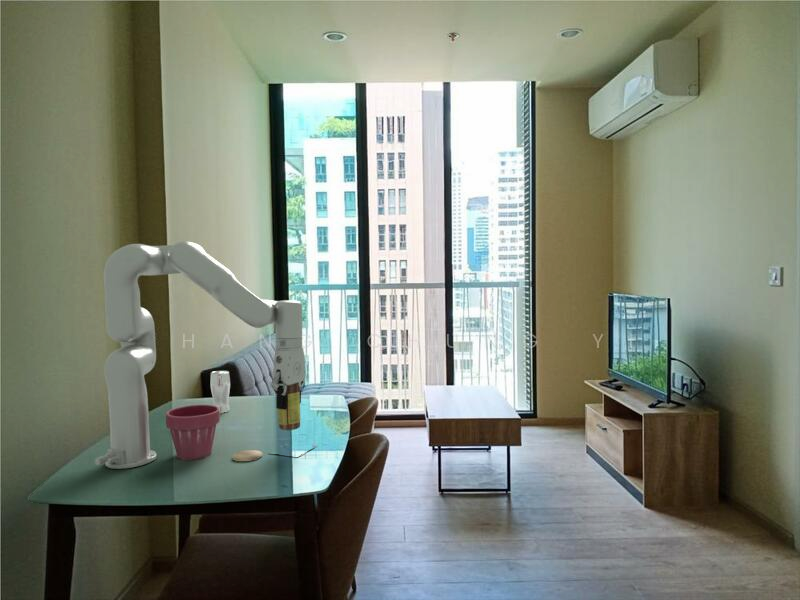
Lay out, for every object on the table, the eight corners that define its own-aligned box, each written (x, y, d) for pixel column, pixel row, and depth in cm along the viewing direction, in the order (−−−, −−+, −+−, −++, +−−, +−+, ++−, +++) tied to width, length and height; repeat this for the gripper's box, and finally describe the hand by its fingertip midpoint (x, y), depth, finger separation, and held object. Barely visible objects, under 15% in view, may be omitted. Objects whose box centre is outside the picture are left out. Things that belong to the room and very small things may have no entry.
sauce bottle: (301, 425, 153) (302, 357, 153) (298, 431, 147) (299, 360, 147) (279, 425, 153) (279, 357, 153) (275, 431, 147) (275, 360, 146)
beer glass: (210, 410, 198) (209, 371, 198) (229, 408, 201) (228, 369, 201) (212, 415, 192) (210, 374, 191) (232, 412, 195) (230, 372, 194)
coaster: (250, 463, 141) (249, 461, 141) (226, 460, 144) (226, 458, 144) (268, 454, 148) (268, 451, 148) (245, 451, 151) (245, 449, 151)
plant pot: (231, 449, 153) (229, 405, 153) (197, 465, 140) (195, 418, 139) (192, 444, 158) (190, 402, 157) (155, 460, 145) (153, 414, 144)
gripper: (282, 348, 140) (282, 414, 141) (316, 341, 156) (316, 400, 157) (259, 346, 143) (259, 411, 143) (294, 339, 159) (294, 398, 159)
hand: (288, 405), depth 150 cm, fingers closed on sauce bottle, 6 cm apart
